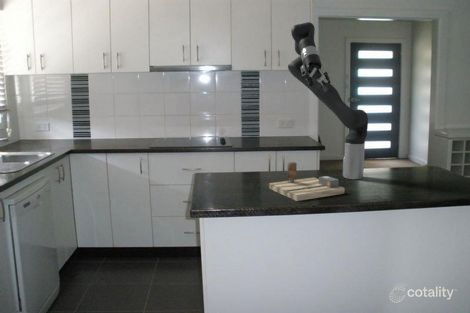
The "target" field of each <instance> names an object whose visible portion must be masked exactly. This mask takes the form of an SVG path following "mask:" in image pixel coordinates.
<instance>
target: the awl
mask: <svg viewBox="0 0 470 313" xmlns="http://www.w3.org/2000/svg"><path fill="white" fill-rule="evenodd" d="M297 165H298V164H297V162H296V161H295V162H294V161H291V162H290V161H289V162H287V170H286V173H287V176H286V177H287V178H288V180H289V181H290V182H289V183H294V180H296V178H297V167H298V166H297Z"/></svg>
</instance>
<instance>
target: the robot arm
mask: <svg viewBox="0 0 470 313" xmlns="http://www.w3.org/2000/svg"><path fill="white" fill-rule="evenodd" d="M315 32H316V30H315V24H313V22H310V21H308V22H303V23H298V24H294V25H293V26H292V27H291V30H290V33H291V34H290V35H291V36H292V37H291V38H292V39H293V40H294V51H295V52H296V55H298V56H297V57H296V58H294V59H293V60H292V61H291V62H290V63H289V64H288V65H287V68H288V71H289V72H290V74H291V75H292V76H293V77H294V78H295V79H297V80H298V81H299V82H300V83H302V84H303V85H304V86H305V87H306V88H307V89H309V91H310V92H312V94H314V96H315V97H316V98H317V99H318V100H319V101H320V102H321V103H323V104H324V105H325V106H326V107H327V108H328V109H329V110H330V111H331V112H332V113H333V114H334V115H335V116H336V117H337V118H338V120H339V121H340V122H341V123H342V125H343V126H344V127H345V128H347V129H349V132H348V134H347V135H346V136H345V139H344V157H343V159H342V176H343V178H345V179H349V180H361V179H364V173H365V172H364V168H365V167H364V166H365V145H366V139H367V136H368V126H369V117H368V114H367V113H366V111H365V110H364V109H353V108H351V107H350V106H348V104H346V103H345V102H344V101H343V100H342V97H341V95H340V93H339V91H338V90H337V88H336V87H335V86H334V85H332V84H331V79H330V76H329V74H328V72H327V71H323V70H322V61H321V58H320V54H319V50H318V49H317V46H316V43H315V42H316V41H315Z"/></svg>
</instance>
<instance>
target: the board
mask: <svg viewBox="0 0 470 313" xmlns="http://www.w3.org/2000/svg"><path fill="white" fill-rule="evenodd" d="M289 182H290V180H285V181H284V180H283V181H275V182H270V183H268V189H269V190H272V191H273V192H276V193H278V194H280V195H282V196H285V197H286V198H289V199H291V200H293V201H295V202H299V201H306V200H312V199H317V198H324V197H325V198H326V197H331V196H336V195H337V196H338V195H343V194H344V195H345V187H343V186H340V185H338V187H331V188H330V187H327V186H325V185H321V184H319V178H317V177H315V176H314V177H305V178H299V179H298V178H297V179H294V183H289Z"/></svg>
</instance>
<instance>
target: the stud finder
mask: <svg viewBox="0 0 470 313" xmlns="http://www.w3.org/2000/svg"><path fill="white" fill-rule="evenodd" d="M318 179H319V184H321V185H325V186H327V187H330V188H331V187H338V186H340V185H339V183H340V182H339V181H340V180H339V178H335V177H332V176H328V175H325V176H318Z"/></svg>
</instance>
